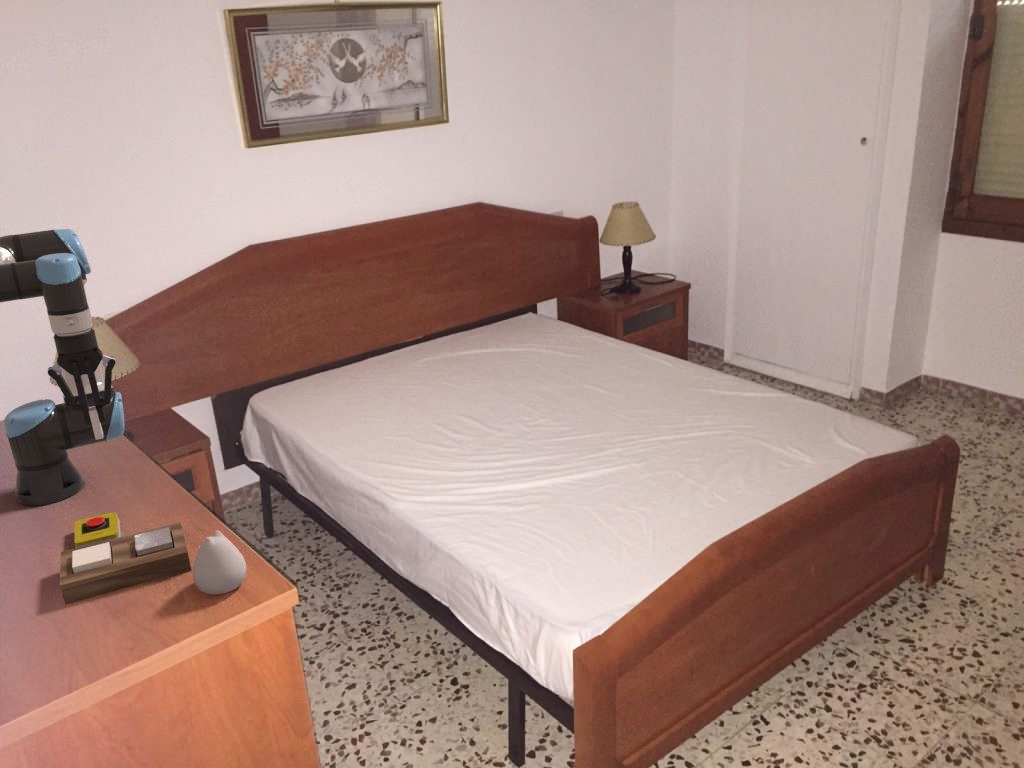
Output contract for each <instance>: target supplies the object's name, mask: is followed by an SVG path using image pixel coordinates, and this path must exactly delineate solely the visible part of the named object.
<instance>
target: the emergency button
mask: <svg viewBox="0 0 1024 768" xmlns="http://www.w3.org/2000/svg"><path fill="white" fill-rule="evenodd" d="M118 516H119V515H118V513H117V511H116V512H115V511H114V512H113V511H112V512H108V513H104V514H100V515H95V516H91V517H86V518H84V519H79V520H77V521H75V522H74V546H75V548H79V547H83V546H87V545H91V544H95V543H99V542H103V541H107V540H111V539H115V538H119V537H122V530H121V529H122V528H121V520H120V518H119V517H118Z"/></svg>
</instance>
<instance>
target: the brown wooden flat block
mask: <svg viewBox="0 0 1024 768" xmlns="http://www.w3.org/2000/svg"><path fill="white" fill-rule="evenodd" d="M167 527H169V529H170V533H171V538H172V543H173V547H174V548H171V549H167V550H164V551H160V552H156V553H152V554H148V555H144V556H140V557H138V556H137V552H136V544H135V535H139V534H143V533H147V532H151V531H155V530H159V529H163V528H167ZM183 531H184V530H183V526H182V522H181V521H180V522H175V523H172V524H167V525H164V526H160V527H156V528H152V529H146V530H143V531H139V532H135V533H131V534H127V535H123V536H121V537H119V538H115V539H111V540H107V541H103V542H99V543H95V544H91V545H87V546H83V547H79V548H76V547H75V548H71V549H68V550H64V551H60V567H59V570H60V571H59V587H60V588H59V589H60V591H61V596H62V598H63V599H62V600H63V602H64V605H69V604H72V603H75V602H80V601H83V600H87V599H90V598H91V599H92V598H94V597H97V596H102V595H106V594H109V593H112V592H116V591H120V590H123V589H127V588H132V587H135V586H139V585H143V584H145V583H150V582H154V581H158V580H161V579H164V578H169V577H172V576H176V575H179V574H183V573H186V572H189V571H192V565H191V562H190V561H191V560H190V557H189V553H188V548H187V543H186V540H185V539H186V538H185V536H184V532H183ZM107 542H109V544H110V548H111V552H112V556H113V564H110V565H106V566H102V567H98V568H94V569H90V570H87V571H83V572H79V573H75V574H74V572H73V568H72V553H73V551H75V550H79V549H83V548H87V547H91V546H95V545H99V544H103V543H107Z"/></svg>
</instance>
